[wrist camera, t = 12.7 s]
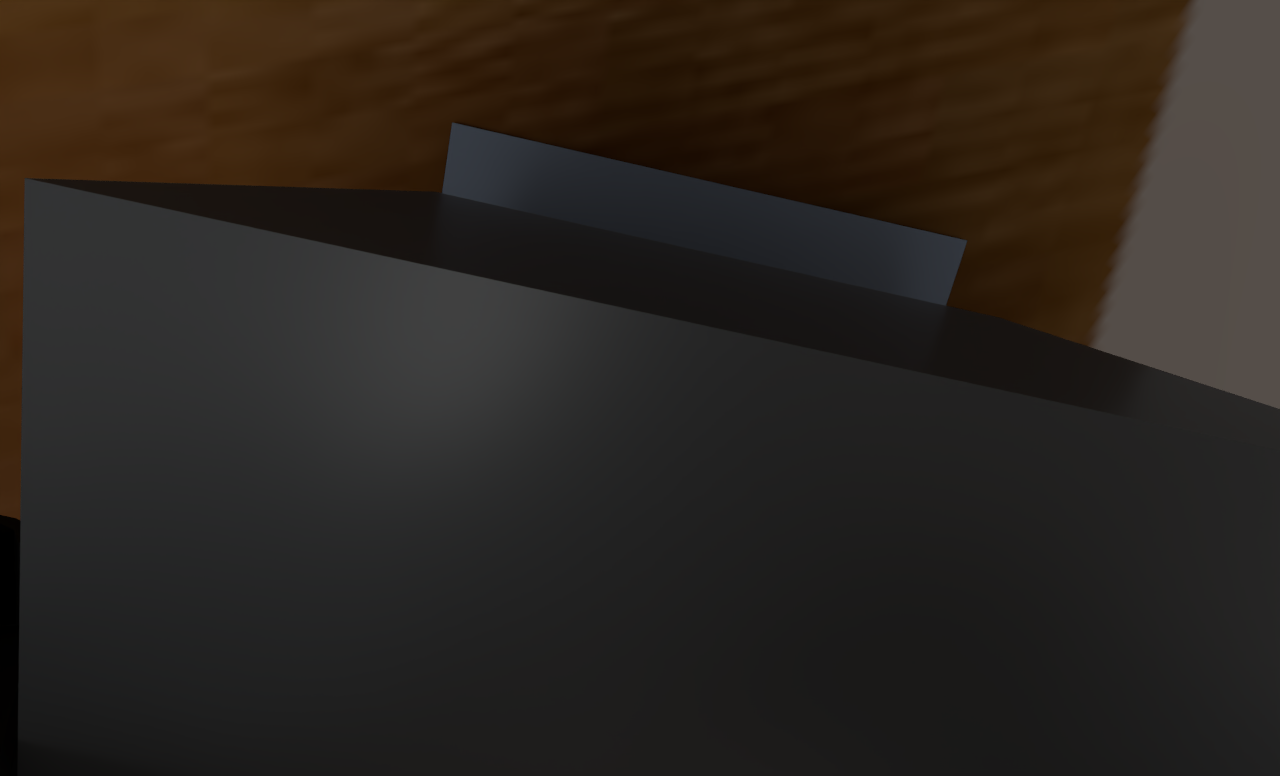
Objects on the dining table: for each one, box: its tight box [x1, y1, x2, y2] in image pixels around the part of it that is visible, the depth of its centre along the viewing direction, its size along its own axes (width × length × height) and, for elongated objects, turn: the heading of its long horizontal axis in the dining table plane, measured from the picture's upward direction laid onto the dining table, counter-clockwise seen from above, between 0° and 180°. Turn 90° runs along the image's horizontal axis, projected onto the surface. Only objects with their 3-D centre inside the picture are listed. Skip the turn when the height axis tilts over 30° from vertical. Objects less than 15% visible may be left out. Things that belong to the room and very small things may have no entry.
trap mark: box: [442, 123, 967, 306], centre depth 18 cm, size 12×12×1 cm
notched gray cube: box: [17, 178, 1280, 776], centre depth 10 cm, size 10×10×9 cm
